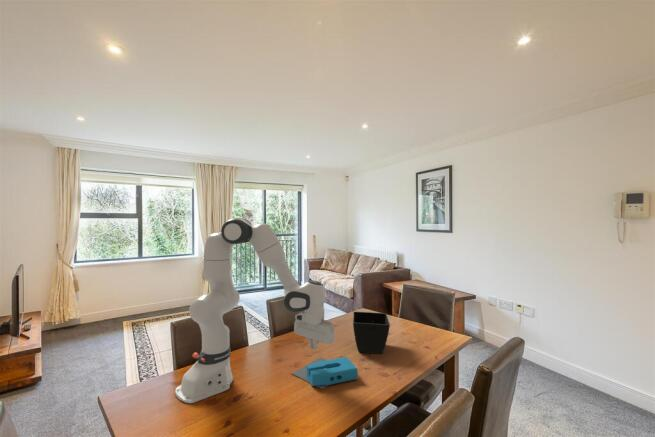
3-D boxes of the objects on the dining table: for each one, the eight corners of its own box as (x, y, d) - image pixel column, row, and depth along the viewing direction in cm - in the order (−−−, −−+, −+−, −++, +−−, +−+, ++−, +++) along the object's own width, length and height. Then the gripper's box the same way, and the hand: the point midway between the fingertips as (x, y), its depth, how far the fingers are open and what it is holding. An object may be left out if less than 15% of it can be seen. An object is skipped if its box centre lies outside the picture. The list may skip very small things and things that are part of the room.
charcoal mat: (322, 389, 118) (322, 388, 118) (291, 374, 129) (291, 373, 129) (349, 369, 134) (349, 368, 134) (320, 357, 145) (320, 357, 145)
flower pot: (386, 341, 165) (386, 312, 165) (390, 357, 146) (390, 324, 146) (353, 340, 167) (353, 311, 167) (352, 355, 148) (353, 322, 148)
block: (313, 389, 117) (357, 379, 124) (313, 377, 117) (357, 368, 124) (305, 374, 128) (345, 366, 136) (305, 363, 129) (345, 356, 136)
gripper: (337, 320, 125) (337, 352, 125) (301, 311, 136) (300, 340, 136) (330, 324, 119) (329, 357, 119) (292, 314, 131) (291, 344, 131)
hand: (313, 348), depth 128 cm, fingers closed
